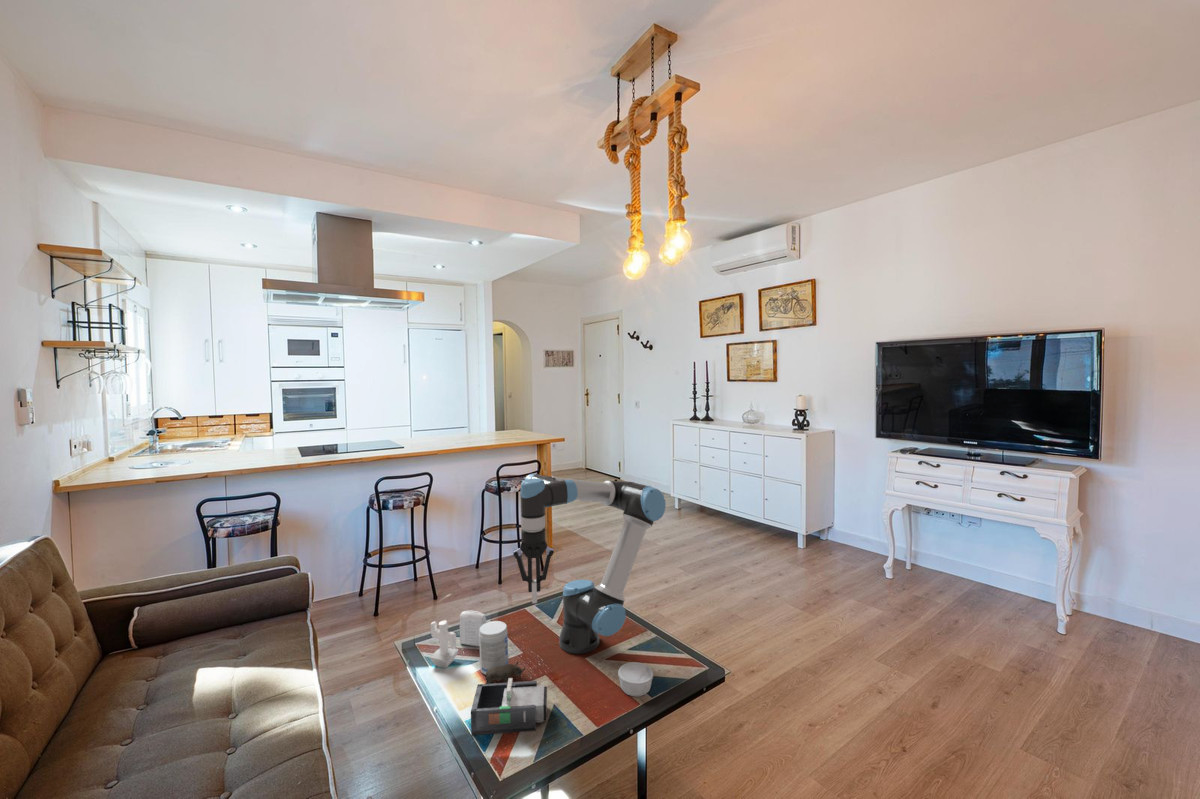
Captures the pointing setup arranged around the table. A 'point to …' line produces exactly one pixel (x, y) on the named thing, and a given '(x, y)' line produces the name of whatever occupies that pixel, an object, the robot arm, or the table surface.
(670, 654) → the table surface
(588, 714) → the table surface
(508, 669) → the rhino figurine
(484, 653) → the supplement tub
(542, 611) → the table surface
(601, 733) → the table surface
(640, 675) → the ramekin
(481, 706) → the gauge housing
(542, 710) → the plunger
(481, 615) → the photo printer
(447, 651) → the figurine
